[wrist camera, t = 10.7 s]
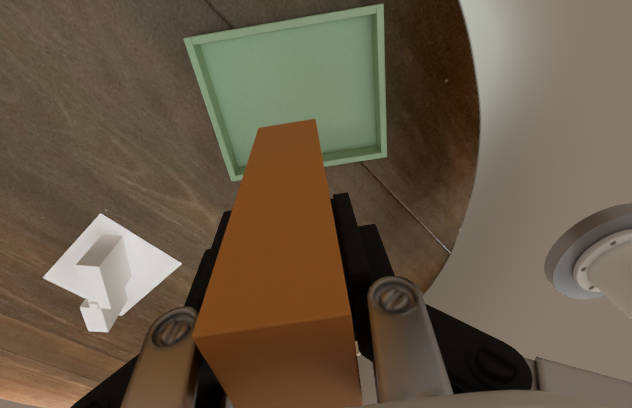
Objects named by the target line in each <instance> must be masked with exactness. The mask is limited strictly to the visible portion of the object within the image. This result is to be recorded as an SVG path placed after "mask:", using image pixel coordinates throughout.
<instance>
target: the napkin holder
mask: <svg viewBox="0 0 632 408" xmlns="http://www.w3.org/2000/svg"><path fill="white" fill-rule="evenodd" d="M181 264H182V263H180V262H179V261H177V260H175V259H174V258H172V257H171V256H169V255H167V254H166V253H164V252H162V251H161V250H159V249H158V248H156V247H154V246H153V245H151V244H150V243H148V242H146V241H145V240H143V239H141V238H140V237H138V236H137V235H135V234H133V233H132V232H130V231H129V230H127V229H125V228H124V227H122V226H121V225H119V224H117V223H116V222H114V221H112V220H111V219H109V218H108V217H106V216H104V215H103V214H101V213H100V214H99V216H98V217H97V218H96V219H95V220H94V221H93V222H92V223H91V224H90V226H89V227H88V228H87V229H86V230H85V231H84V232H83V233H82V234H81V236H80V237H79V238H78V239H77V240H76V241H75V242H74V243H73V244H72V246H71V247H70V248H69V249H68V250H67V251H66V252H65V253H64V254H63V256H62V257H61V258H60V259H59V260H58V261H57V262H56V263H55V264H54V266H53V267H52V268H51V269H50V270H49V271H48V272H47V273H46V274H45V276H44V277H43V278H44V279H46V280H48V281H50V282H52V283H54V284H56V285H58V286H60V287H62V288H64V289H66V290H68V291H71V292H73V293H75V294H77V295H79V296H81V297H83V298H85V300H84V302H83V303H82V304H81V306H80V310H81V312H82V315H83V318H84V321H85V323H86V326H87V329H88V331H93V332H109V330H110V329H111V327H112V325H113V324H114V322H115V320H116V318H117V317H118V315H120V316H122V315H123V314H125V313H126V312H127V311H128V310H129V309H130V308H132V307H133V306H134V305H135V304H136V303H137V302H138V301H140V300H141V299H142V298H143V297H144V296H145V295H147V294H148V293H149V292H150V291H151V290H152V289H153V288H155V287H156V286H157V285H158V284H159V283H160V282H162V281H163V280H164V279H165V278H166V277H167V276H168V275H170V274H171V273H172V272H173V271H174V270H175V269H177V268H178V267H179V266H180V265H181Z"/></svg>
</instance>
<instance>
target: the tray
mask: <svg viewBox="0 0 632 408" xmlns="http://www.w3.org/2000/svg"><path fill="white" fill-rule="evenodd" d="M183 39H184V42H185V45H186V48H187V51H188V54H189V57H190V60H191V63H192V66H193V69H194V72H195V75H196V78H197V81H198V84H199V87H200V90H201V93H202V96H203V99H204V102H205V105H206V108H207V111H208V114H209V117H210V119H211V122H212V125H213V128H214V131H215V134H216V137H217V140H218V143H219V146H220V149H221V152H222V155H223V158H224V161H225V164H226V167H227V170H228V173H229V176H230V179H231V181H237V180H242V178H243V175H244V171H245V168H246V165H247V162H248V159H249V156H250V153H251V150H252V146H253V143H254V140H255V137H256V134H257V131H258V128H261V127H267V126H273V125H279V124H286V123H292V122H298V121H304V120H310V119H316V124H317V130H318V135H319V141H320V146H321V152H322V157H323V163H324V167H326V166H333V165H339V164H345V163H352V162H358V161H364V160H371V159H377V158H383V157H387V134H386V91H385V48H384V5H383V4H374V5H369V6H363V7H357V8H352V9H346V10H340V11H334V12H329V13H323V14H317V15H311V16H306V17H300V18H294V19H288V20H283V21H277V22H271V23H265V24H260V25H254V26H248V27H242V28H237V29H231V30H225V31H219V32H214V33H208V34H202V35H196V36H191V37H187V38H183Z"/></svg>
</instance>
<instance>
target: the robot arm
mask: <svg viewBox="0 0 632 408" xmlns="http://www.w3.org/2000/svg"><path fill="white" fill-rule="evenodd" d="M333 198H334V199H330V201H331V206H332V212H333V217H334V223H335V228H336V233H337V239H338V244H339V250H340V255H341V261H342V266H343V272H344V277H345V282H346V288H347V293H348V299H349V304H350V310H351V316H352V323H353V331H354V338H355V341H357V343H358V349H359V352H360V354H361V355H363V356H364V357H366V358H367V359H369V360H370V361H371V362H373V370H374V378H375V387H376V395H377V404H371V405H363V406H355V407H347V408H632V383H631V382H627V381H624V380H620V379H616V378H612V377H608V376H605V375H601V374H598V373H594V372H590V371H587V370H583V369H580V368H576V367H572V366H568V365H565V364H561V363H557V362H554V361H550V360H546V359H543V358H539V357H536V359H535V361H534V360H531V359H527V358H524V357H523V356H522V355H520V354H519V353H518V352H517V351H516V350H515V349H514V348H512V347H511V346H509V345H508V344H506V343H504V342H502V341H500V340H498V339H496V338H494V337H492V336H490V335H488V334H486V333H484V332H482V331H480V330H478V329H476V328H474V327H472V326H470V325H468V324H466V323H464V322H462V321H460V320H458V319H455V318H453V317H451V316H449V315H447V314H445V313H443V312H441V311H439V310H437V309H435V308H433V307H431V306H429V305H427V304H425V302H424V299H423V296H422V293H421V291H420V290H419V288H418V287H417V286H416V285H415V284H414V283H413V282H411V281H410V280H408V279H406V278H402V277H399V276H395V275H394V272H393V270H392V267H391V264H390V262H389V259H388V256H387V254H386V251H385V248H384V246H383V243H382V240H381V238H380V235H379V232H378V230H377V227H376V225H375V224H371V225H364V226H357V222H356V219H355V215H354V212H353V208H352V205H351V201H350V198H349V195H348V192H347V193H341V194H334V195H333ZM231 212H232V211H225V212H224V213H223V216H222V219H221V222H220V224H219V227H218V230H217V233H216V236H215V238H214V241H213V244H212V247H211V249H207V250H206V251H205V253H204V255H203V257H202V260H201V263H200V265H199V268H198V271H197V273H196V276H195V279H194V281H193V284H192V287H191V289H190V292H189V295H188V297H187V300H186V303H185V305H184V307H177V308H174V309H172V310H170V311H168V312H166V313H164V314H163V315H161V316H160V317H159V318H158V319H157V320H156V321H155V322H154V323H153V324H152V325H151V327H150V328H149V330H148V332H147V334H146V337H145V340H144V342H143V345H142V348H141V351H140V353H139V354H138V355H137V356H136V357H134V358H133V359H132V360H130V361H129V362H128V363H126V364H125V365H124V366H123V367H121V368H120V369H119V370H117V371H116V372H115V373H114V374H112V375H111V376H110V377H108V378H107V379H106V380H105V381H103V382H102V383H101V384H99V385H98V386H97V387H95V388H94V389H93V390H92V391H90V392H89V393H88V394H86V395H85V396H84V397H83V398H81V399H80V400H79V401H77V402H76V403H75V404H74V405H73V406H72V407H71V408H232V402H231V401H230V399H229V398H228V396H227V394H226V393H225V391H224V389H223V388H222V386H221V384H220V383H219V381H218V379H217V378H216V376H215V375H214V373H213V371H212V370H211V368H210V366H209V365H208V363H207V361H206V360H205V358H204V356H203V355H202V353H201V352H200V350H199V348H198V347H197V345H196V343H195V342H194V340H193V338H192V334H193V331H194V328H195V325H196V322H197V318H198V315H199V312H200V309H201V306H202V303H203V300H204V297H205V293H206V290H207V287H208V284H209V281H210V278H211V275H212V272H213V268H214V265H215V262H216V259H217V256H218V253H219V250H220V247H221V243H222V240H223V237H224V234H225V231H226V228H227V225H228V222H229V218H230V215H231ZM573 278H574V281H575V282H576V283H577V284H578V285H579V286H580V287H582V288H583V289H585V290H587V291H593V292H602V293H603V294H604V295H605V296H606V297H607V298H608V299H610V300H611V301H612V302H613V303H614V304H615V305H616V306H617V307H618V308H619V309H620V310H622V311H623V312H624V313H625V314H626V315H627V316H628V317H629V318H630V319H632V229H627V230H623V231H619V232H616V233H613V234H611V235H608V236H606V237H604V238H603V239H601V240H599V241H597V242H596V243H594V244H593V245H592V246H590V247H589V248H588V249H587V250H586V251H585V252H584V253H583V254H582V255H581V256H580V257H579V259H578V260H577V261H576V264H575V266H574V268H573Z"/></svg>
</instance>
